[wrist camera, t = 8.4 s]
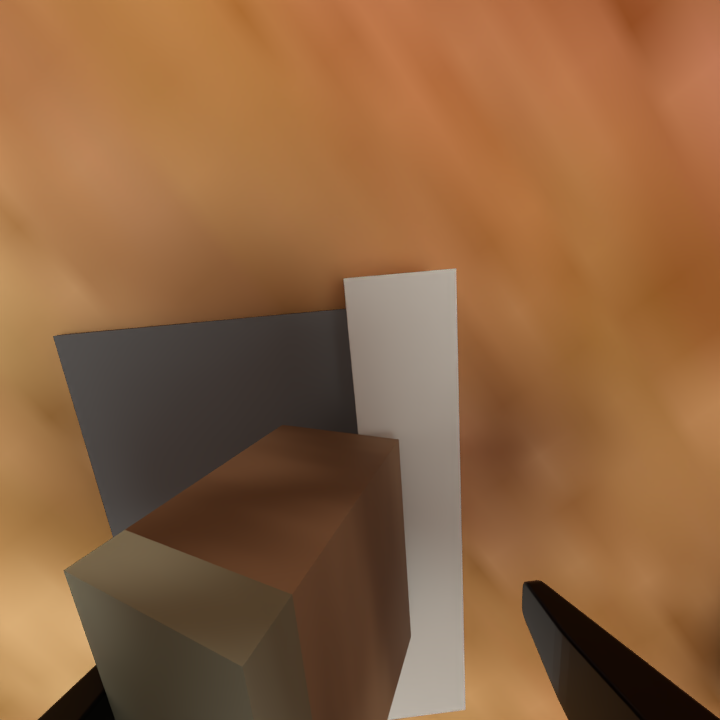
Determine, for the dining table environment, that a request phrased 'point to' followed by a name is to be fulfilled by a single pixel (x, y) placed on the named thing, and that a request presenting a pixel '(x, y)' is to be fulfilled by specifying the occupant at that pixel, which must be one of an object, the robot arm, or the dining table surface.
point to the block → (258, 588)
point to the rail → (418, 462)
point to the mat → (200, 397)
